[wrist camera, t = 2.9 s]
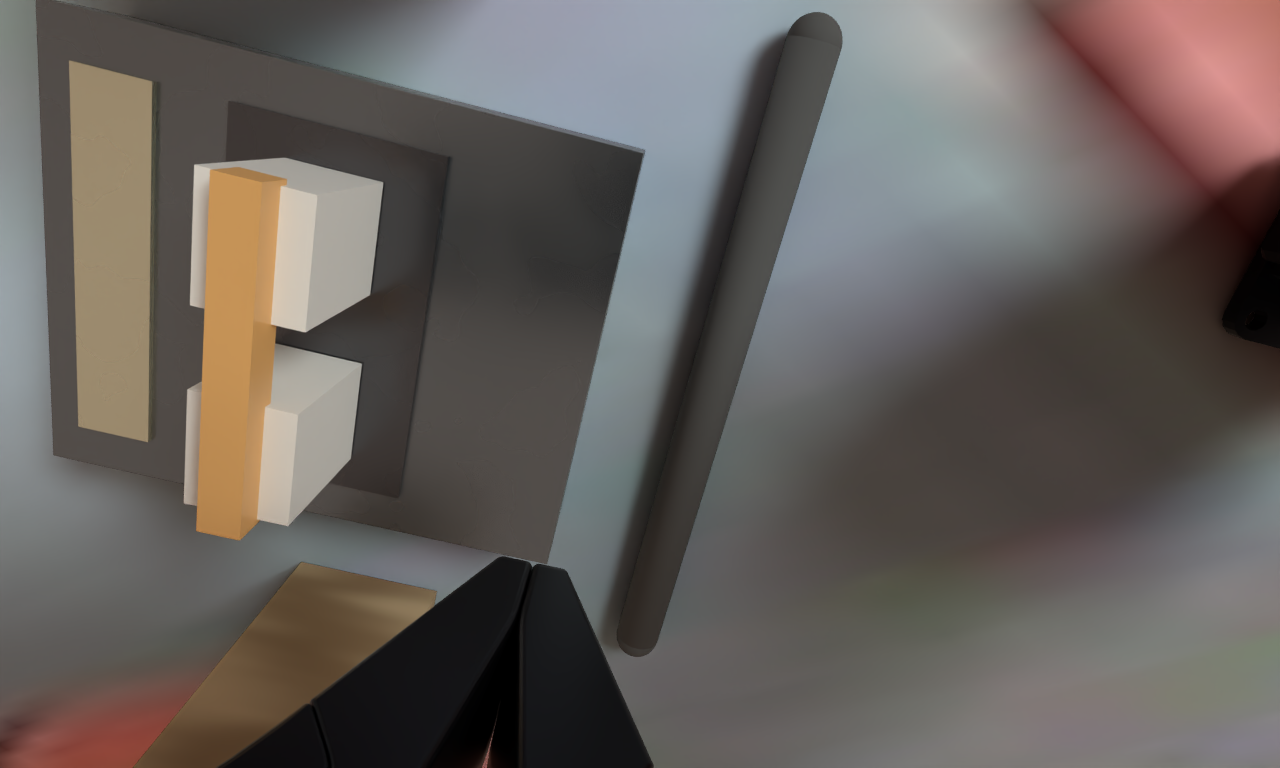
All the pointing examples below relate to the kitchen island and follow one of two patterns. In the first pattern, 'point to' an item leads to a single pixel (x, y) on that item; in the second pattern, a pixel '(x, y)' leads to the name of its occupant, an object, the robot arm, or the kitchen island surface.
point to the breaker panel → (368, 330)
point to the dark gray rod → (731, 318)
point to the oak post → (286, 661)
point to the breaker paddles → (272, 336)
